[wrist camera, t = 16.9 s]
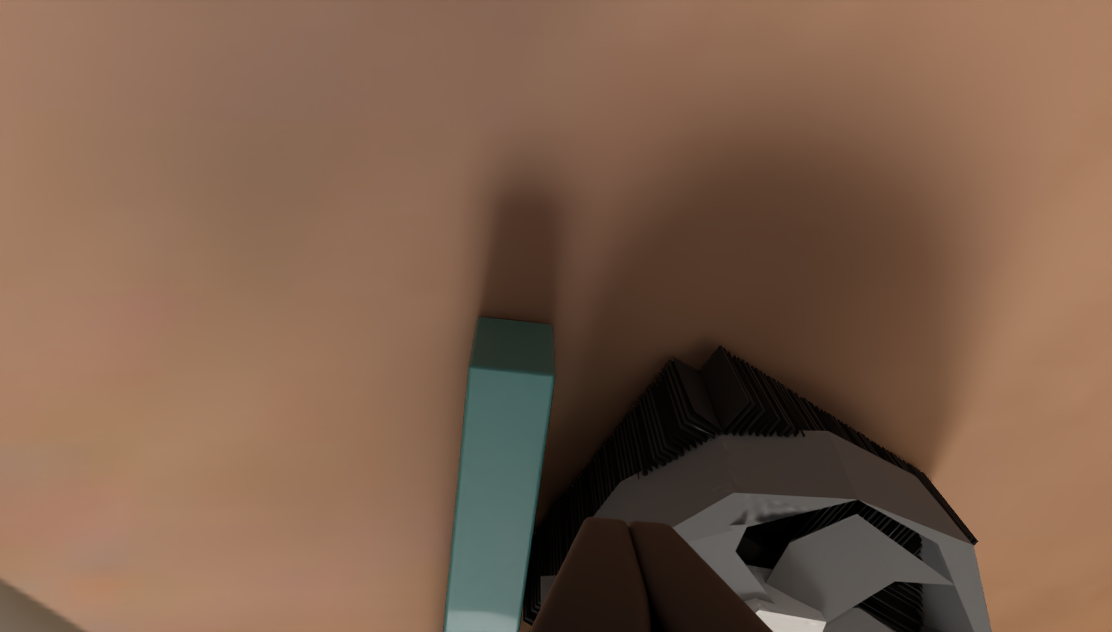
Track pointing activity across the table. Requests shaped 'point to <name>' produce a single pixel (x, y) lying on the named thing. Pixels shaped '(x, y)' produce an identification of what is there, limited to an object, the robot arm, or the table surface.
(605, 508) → the cpu cooler
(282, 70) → the table surface
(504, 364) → the corner stop
